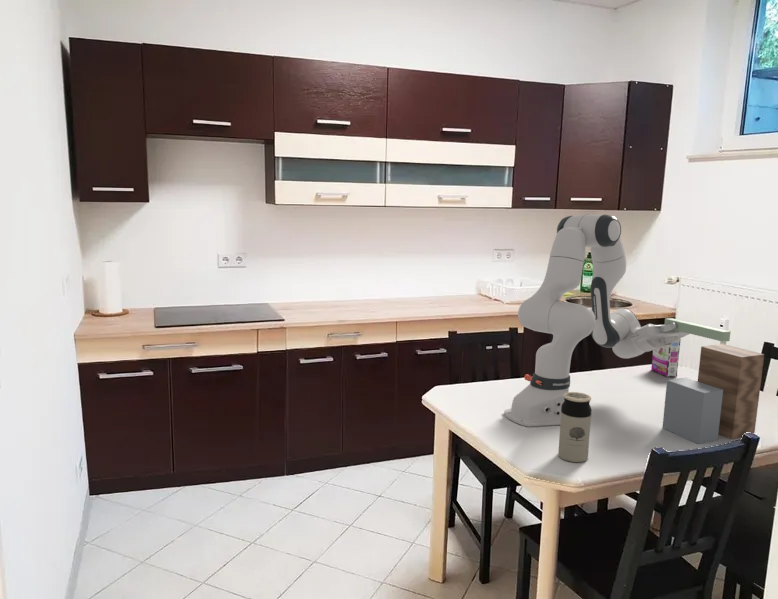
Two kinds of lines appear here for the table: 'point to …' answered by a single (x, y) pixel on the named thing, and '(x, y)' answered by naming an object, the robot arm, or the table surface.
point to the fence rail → (700, 330)
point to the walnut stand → (733, 385)
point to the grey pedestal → (692, 410)
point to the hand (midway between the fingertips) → (681, 324)
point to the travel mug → (575, 427)
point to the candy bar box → (666, 359)
